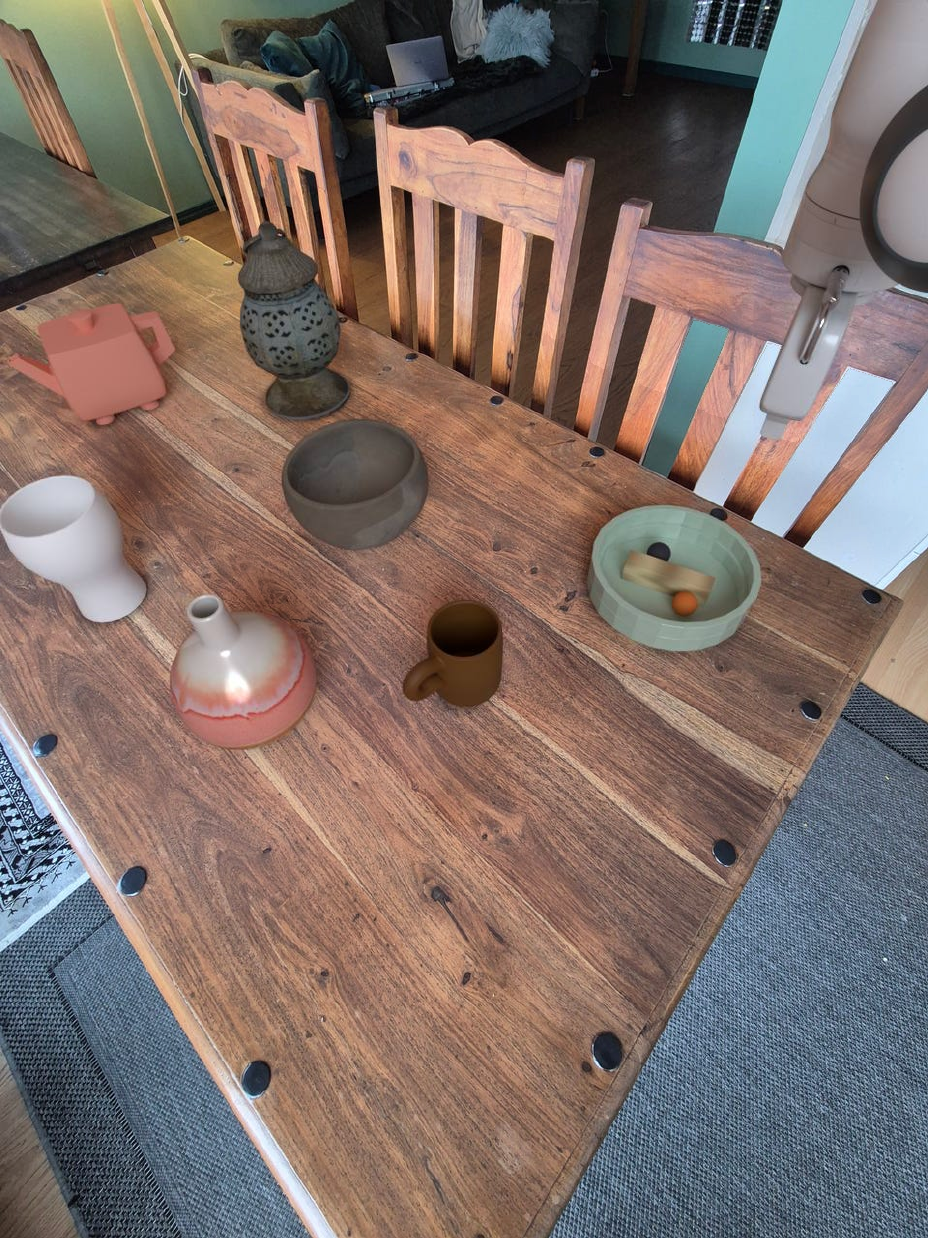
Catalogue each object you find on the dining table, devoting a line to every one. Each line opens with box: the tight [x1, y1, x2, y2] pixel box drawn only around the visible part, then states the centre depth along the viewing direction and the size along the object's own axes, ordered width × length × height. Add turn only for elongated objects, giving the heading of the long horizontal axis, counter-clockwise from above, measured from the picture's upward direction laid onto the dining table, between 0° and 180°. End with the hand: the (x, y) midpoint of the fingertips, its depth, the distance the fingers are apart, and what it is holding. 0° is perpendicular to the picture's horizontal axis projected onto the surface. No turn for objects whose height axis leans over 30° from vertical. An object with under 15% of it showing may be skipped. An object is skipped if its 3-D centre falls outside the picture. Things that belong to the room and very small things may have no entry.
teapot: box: [5, 302, 176, 426], centre depth 96 cm, size 22×13×14 cm, turn 121°
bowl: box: [281, 418, 429, 551], centre depth 81 cm, size 17×18×10 cm
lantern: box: [237, 220, 351, 422], centre depth 92 cm, size 14×14×25 cm
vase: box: [169, 593, 318, 751], centre depth 61 cm, size 14×14×18 cm
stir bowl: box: [586, 504, 762, 652], centre depth 74 cm, size 19×19×5 cm
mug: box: [401, 599, 504, 708], centre depth 65 cm, size 12×8×9 cm, turn 136°
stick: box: [621, 550, 715, 607], centre depth 75 cm, size 10×2×3 cm, turn 63°
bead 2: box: [672, 592, 698, 616], centre depth 72 cm, size 3×3×3 cm
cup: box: [0, 474, 147, 623], centre depth 71 cm, size 11×11×15 cm
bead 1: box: [647, 542, 671, 561], centre depth 77 cm, size 3×3×3 cm
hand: (781, 404), depth 58 cm, fingers open, 8 cm apart
